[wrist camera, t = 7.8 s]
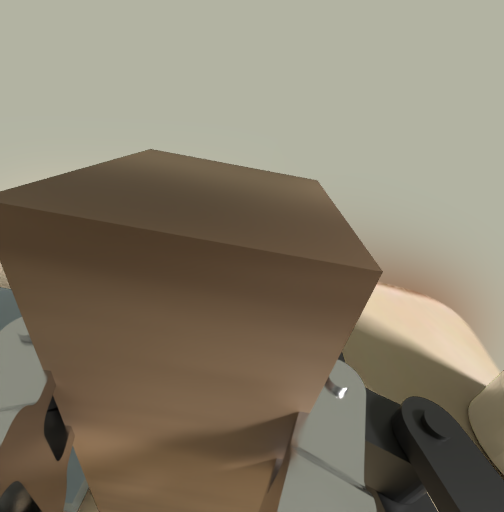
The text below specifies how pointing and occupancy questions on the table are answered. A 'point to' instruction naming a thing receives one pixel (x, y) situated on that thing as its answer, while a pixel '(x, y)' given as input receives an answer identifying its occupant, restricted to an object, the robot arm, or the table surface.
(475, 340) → the table surface
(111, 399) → the pillar
